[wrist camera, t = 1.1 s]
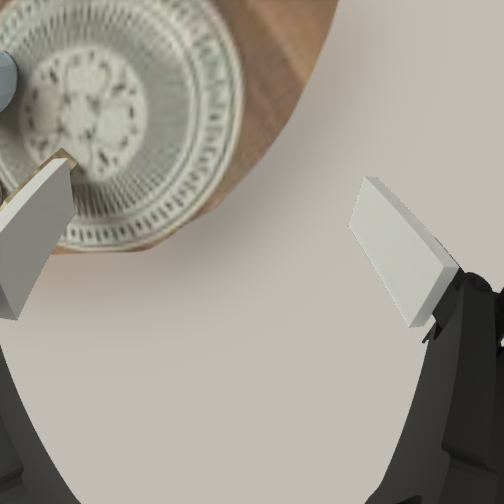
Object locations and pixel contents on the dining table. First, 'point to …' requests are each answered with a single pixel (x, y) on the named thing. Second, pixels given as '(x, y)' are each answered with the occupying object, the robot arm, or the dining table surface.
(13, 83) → the jar
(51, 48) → the dining table surface
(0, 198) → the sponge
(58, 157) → the tan bar
